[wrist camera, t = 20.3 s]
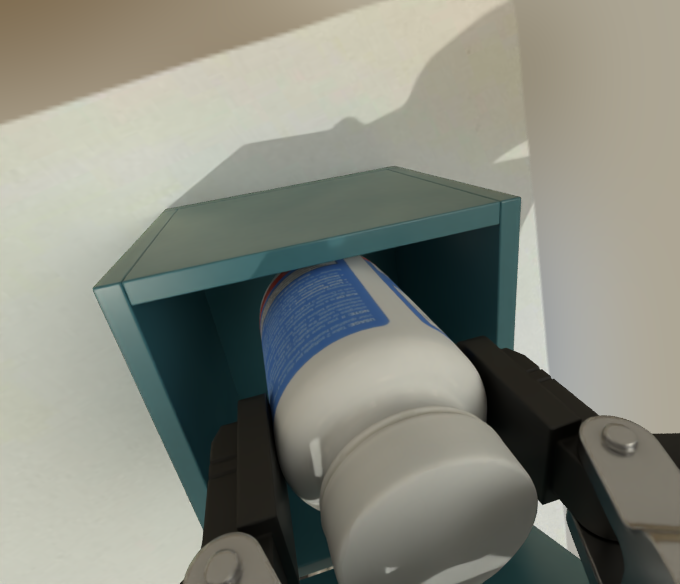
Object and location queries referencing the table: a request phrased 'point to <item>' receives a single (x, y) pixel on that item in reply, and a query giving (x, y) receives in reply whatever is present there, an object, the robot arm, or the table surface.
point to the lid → (519, 565)
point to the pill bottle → (387, 431)
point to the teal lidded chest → (285, 255)
